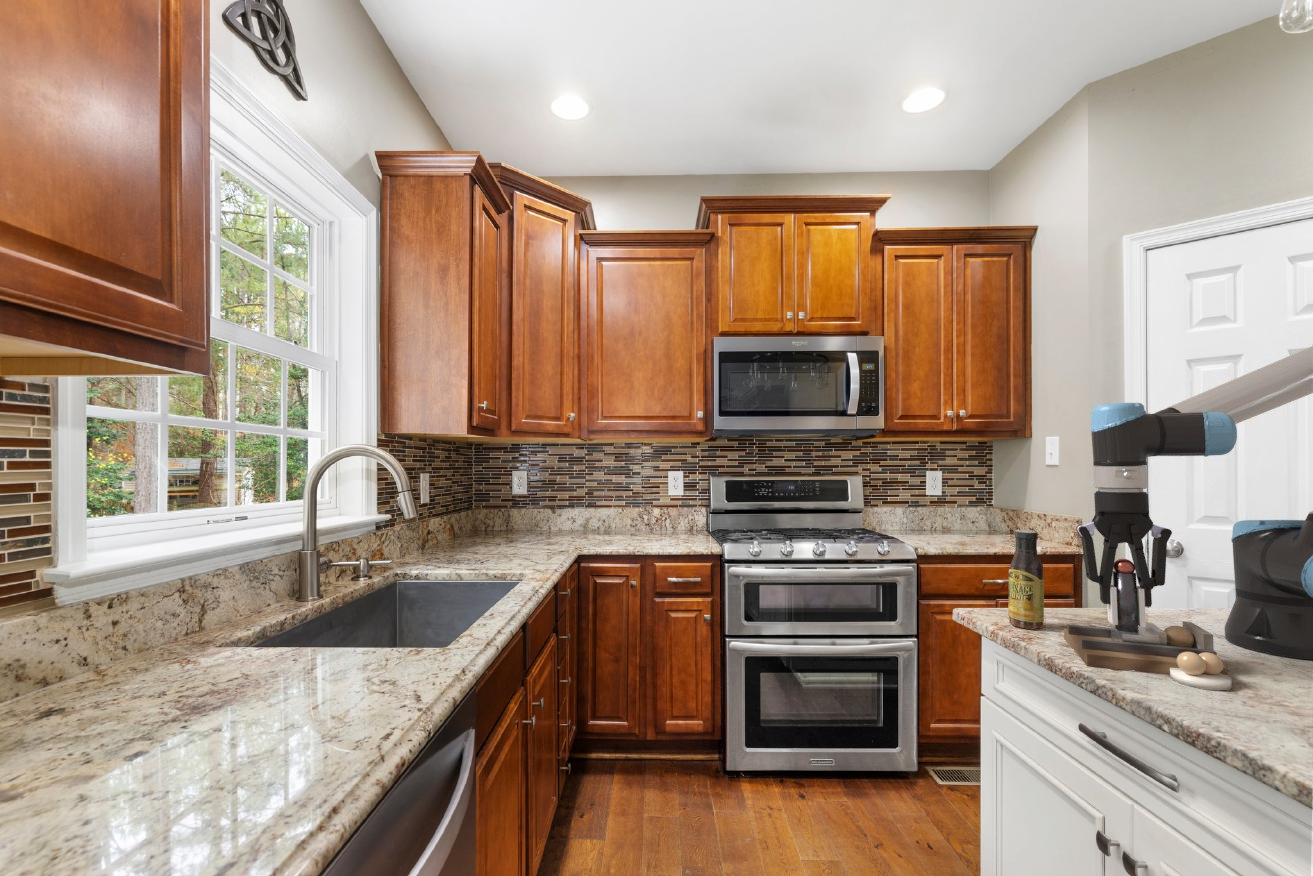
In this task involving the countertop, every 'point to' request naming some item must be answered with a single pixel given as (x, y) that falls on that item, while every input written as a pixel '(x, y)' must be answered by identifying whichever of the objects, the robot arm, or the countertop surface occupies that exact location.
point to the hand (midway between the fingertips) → (1126, 623)
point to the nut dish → (1202, 680)
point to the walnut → (1179, 637)
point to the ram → (1131, 609)
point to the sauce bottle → (1026, 583)
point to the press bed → (1133, 649)
